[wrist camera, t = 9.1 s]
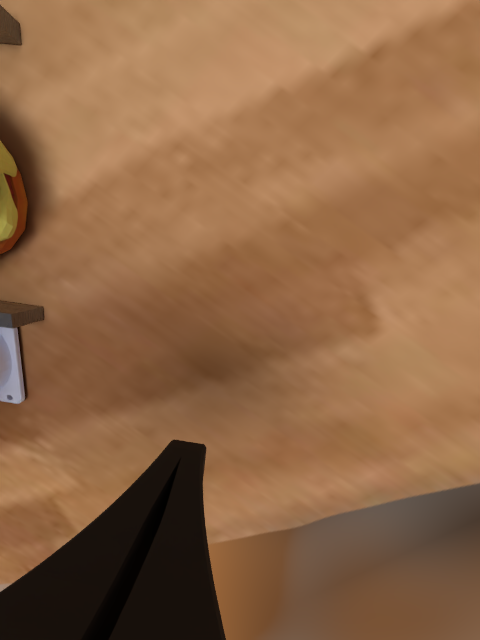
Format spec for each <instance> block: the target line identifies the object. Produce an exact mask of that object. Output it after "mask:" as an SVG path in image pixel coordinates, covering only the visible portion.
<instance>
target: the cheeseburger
mask: <svg viewBox="0 0 480 640" xmlns="http://www.w3.org/2000/svg"><path fill="white" fill-rule="evenodd" d="M27 205H28V202H27V198H26V194H25V190H24V186H23V181H22V177H21V173H20V172H19V170H18V168H17V167H16V164H15V162H14V159H13V157H12V156H11V154H10V153H9V152H8V151H7V149H6V148H5V146H4V145H3V143H2V142H1V141H0V254H2V253H4V252H6V251H8V250H10V249H11V248H12V247H13V245H14V244H15V243H16V241H17V240H18V238H19V237H20V236H21V234H22V233H23V231H24V230H25V225H26V215H27Z"/></svg>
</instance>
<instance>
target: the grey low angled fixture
mask: <svg viewBox="0 0 480 640" xmlns="http://www.w3.org/2000/svg"><path fill="white" fill-rule="evenodd" d="M0 43H8V44H18V45H21V37H20V24H19V23H18V22H17V21H16V20H15V19H14V18H13V17H12V16H11V15H10V14H9V13H8V12H7V11H6V10H5V9H4V8H3V7H2V6H1V5H0ZM40 320H44V314H43V307H41V306H34V305H27V304H20V303H12V302H5V301H0V327H5V328H12V329H13V328H16V327H20V326H23V325H27V324H30V323H33V322H37V321H40Z"/></svg>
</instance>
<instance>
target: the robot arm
mask: <svg viewBox="0 0 480 640" xmlns="http://www.w3.org/2000/svg"><path fill="white" fill-rule="evenodd" d="M24 400H25V392H24V383H23V374H22V365H21V356H20V347H19V338H18V329H17V327H16V328H13V329H12V328H5V327H0V401H3V402H10V403H16V404H19V403H21V402H22V401H24ZM205 455H206V446H205V445H204V444H198V443H192V442H186V441H179V440H172V441H171V442H170V443H169V444H168V446H167V447H166V448H165V449H164V450H163V452H162V453H161V454H160V455H159V456H158V457H157V459H156V460H155V461H154V462H153V463H152V464H151V465H150V466H149V468H148V469H147V470H146V471H145V472H144V473H143V474H142V475H141V476H140V477H139V478H138V479H137V480H136V481H135V482H134V483H133V484H132V485H131V486H130V487H129V488H128V489H127V490H126V491H125V492H124V493H123V494H122V495H121V496H120V497H119V498H118V499H117V500H116V501H115V502H114V503H113V504H112V505H111V506H109V507H108V508H107V509H106V510H105V511H104V512H103V513H102V514H101V515H100V516H98V517H97V518H96V519H95V520H94V521H93V522H92V523H90V524H89V525H88V526H87V527H86V528H84V529H83V530H82V531H81V532H80V533H79V534H77V535H76V536H75V537H74V538H72V539H71V540H70V541H69V542H67V543H66V544H65V545H64V546H62V547H61V548H60V549H58V550H57V551H56V552H55V553H53V554H52V555H51V556H50V557H48V558H47V559H46V560H44V561H43V562H42V563H40V564H39V565H38V566H36V567H35V568H34V569H32V570H31V571H30V572H28V573H27V574H25V575H24V576H22V577H21V578H20V579H18V580H17V581H15V582H14V583H13V584H11V585H10V586H8V587H7V588H6V589H4V590H3V591H1V592H0V640H226V638H225V634H224V629H223V625H222V620H221V615H220V610H219V605H218V601H217V596H216V591H215V586H214V581H213V575H212V570H211V564H210V558H209V550H208V543H207V536H206V527H205V517H204V505H203V474H204V465H205Z"/></svg>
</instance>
